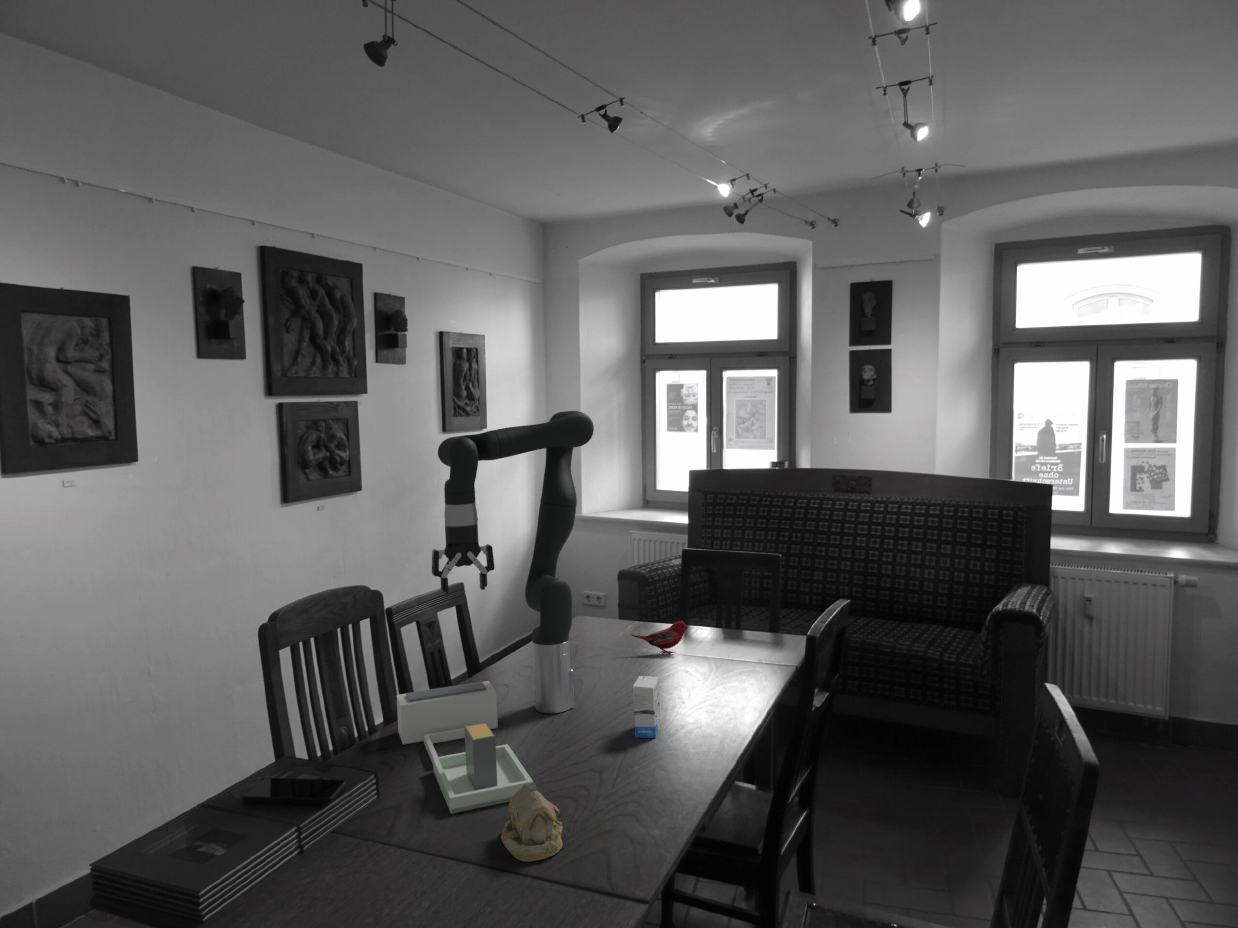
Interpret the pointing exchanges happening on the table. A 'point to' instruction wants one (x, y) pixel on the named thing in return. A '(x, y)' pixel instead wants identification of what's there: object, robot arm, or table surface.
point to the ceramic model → (532, 826)
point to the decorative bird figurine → (666, 636)
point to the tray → (462, 791)
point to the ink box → (646, 707)
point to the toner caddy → (480, 756)
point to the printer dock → (445, 713)
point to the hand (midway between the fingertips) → (464, 591)
